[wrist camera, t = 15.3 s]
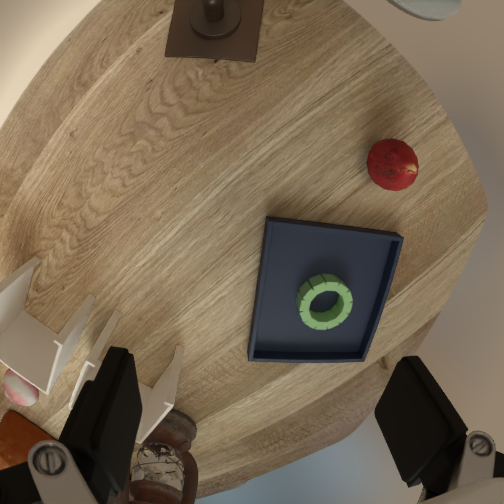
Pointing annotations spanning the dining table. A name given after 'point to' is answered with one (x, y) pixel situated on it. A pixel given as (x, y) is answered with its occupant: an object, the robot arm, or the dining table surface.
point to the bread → (18, 439)
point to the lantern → (164, 465)
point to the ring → (331, 316)
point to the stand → (215, 29)
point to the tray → (309, 265)
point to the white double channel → (69, 349)
